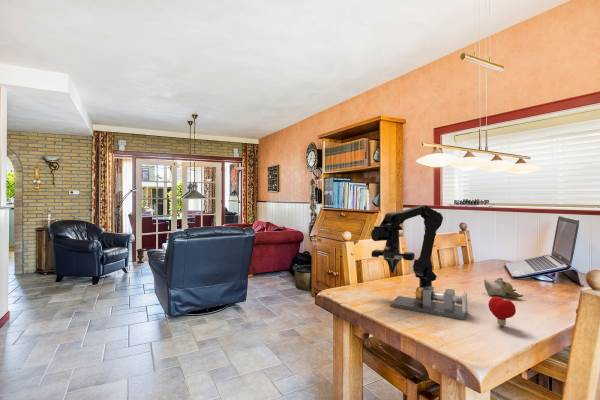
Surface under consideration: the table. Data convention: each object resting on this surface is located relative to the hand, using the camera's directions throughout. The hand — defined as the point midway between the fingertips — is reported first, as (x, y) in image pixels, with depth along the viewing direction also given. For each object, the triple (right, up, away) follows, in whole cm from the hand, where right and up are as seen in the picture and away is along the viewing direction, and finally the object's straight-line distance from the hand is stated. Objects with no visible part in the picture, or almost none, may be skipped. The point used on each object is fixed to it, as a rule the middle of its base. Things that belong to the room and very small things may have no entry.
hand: (392, 273), depth 152 cm
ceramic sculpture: (+52, -11, +1) cm, 53 cm away
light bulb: (+30, -12, -34) cm, 47 cm away
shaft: (+14, -8, -18) cm, 24 cm away
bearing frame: (+10, -11, -16) cm, 22 cm away
